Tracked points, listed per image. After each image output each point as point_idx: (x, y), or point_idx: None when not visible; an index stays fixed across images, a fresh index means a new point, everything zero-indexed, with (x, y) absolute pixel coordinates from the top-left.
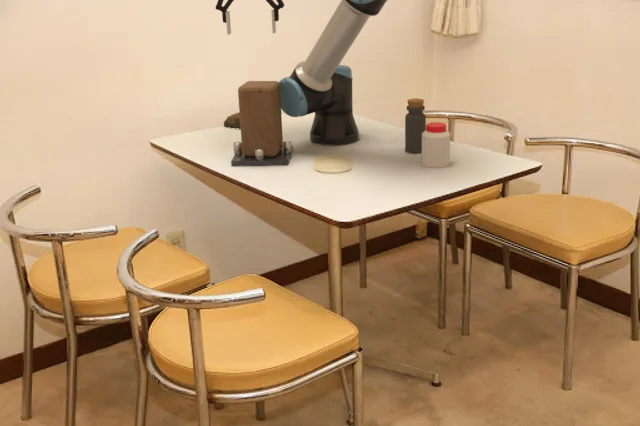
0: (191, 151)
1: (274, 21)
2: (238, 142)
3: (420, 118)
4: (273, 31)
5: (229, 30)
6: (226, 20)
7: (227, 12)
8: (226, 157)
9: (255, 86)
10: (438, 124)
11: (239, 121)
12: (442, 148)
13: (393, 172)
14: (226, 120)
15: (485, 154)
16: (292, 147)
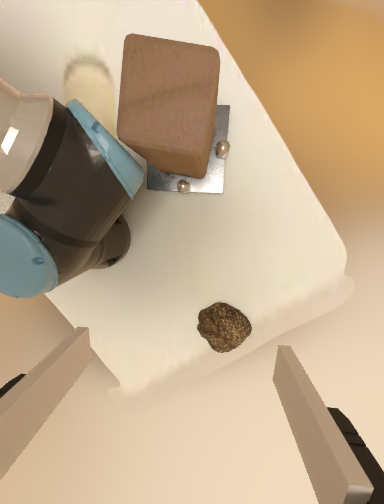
0: (291, 198)
1: (36, 365)
2: (221, 150)
3: None
4: (79, 331)
5: (285, 359)
6: (326, 411)
7: (354, 480)
8: (238, 159)
9: (169, 48)
10: None
11: (229, 313)
12: None
13: (9, 57)
14: (248, 326)
15: None
16: (147, 182)
